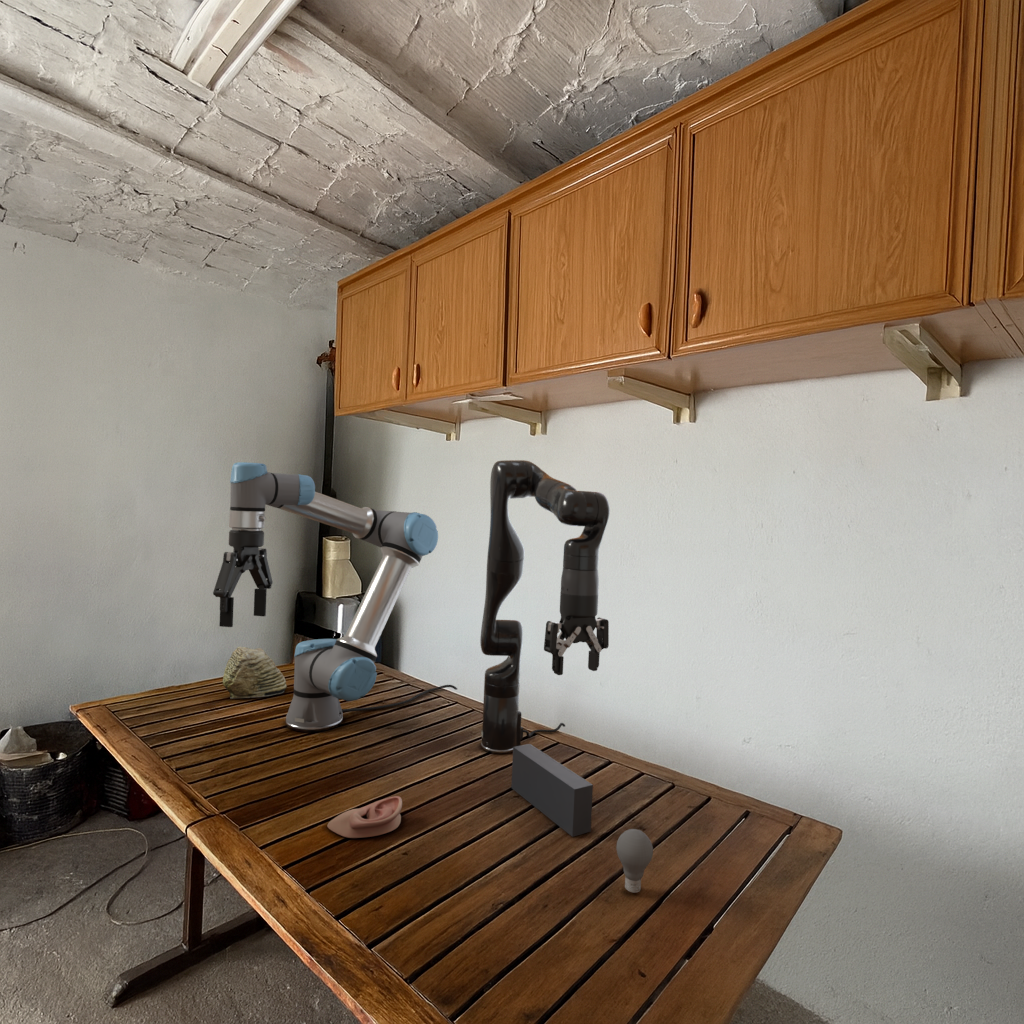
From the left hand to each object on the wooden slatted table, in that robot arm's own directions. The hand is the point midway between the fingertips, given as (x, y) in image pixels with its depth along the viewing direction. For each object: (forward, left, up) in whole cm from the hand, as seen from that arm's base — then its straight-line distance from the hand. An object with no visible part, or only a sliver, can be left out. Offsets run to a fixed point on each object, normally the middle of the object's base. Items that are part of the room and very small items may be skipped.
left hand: (243, 621), depth 147 cm
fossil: (-29, -45, -34) cm, 63 cm away
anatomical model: (-3, +42, -34) cm, 54 cm away
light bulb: (-20, +92, -34) cm, 100 cm away
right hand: (-31, +71, -3) cm, 78 cm away
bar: (-34, +65, -34) cm, 80 cm away
